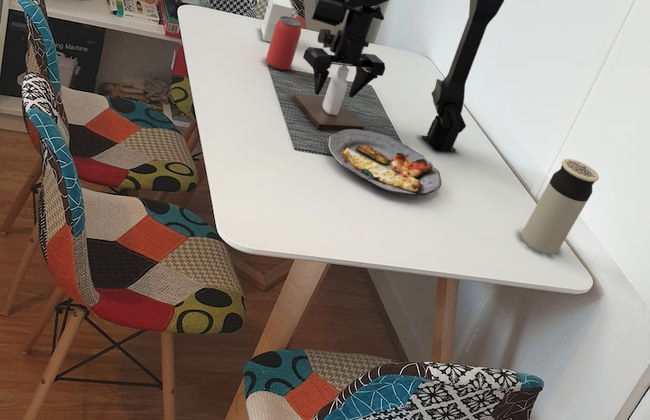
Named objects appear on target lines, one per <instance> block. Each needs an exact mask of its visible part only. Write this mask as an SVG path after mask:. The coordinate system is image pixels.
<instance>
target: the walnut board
mask: <svg viewBox="0 0 650 420" xmlns="http://www.w3.org/2000/svg"><path fill="white" fill-rule="evenodd" d="M324 98H325V95H311V94H302V93H301V94H299V93H293V96H292V99H293V101H294V102H295V103H296V104H297V105H298V107H299V108H300V109H301V110H302V111H303V113H304V114H305V115H306V116H307V118H309V119H310V121H311V122H312V123H313V125H314V126H315V127H316V128H317V129H318V130H335V131H336V130H337V131H343V129H344V130H348V129H351V130H352V129H355V130H356V129H358V130H363V131H364V128H365V126H364V124H362V122H360V120H359V119H358V118H357V117H356V115H354V114H353V113H352V111H351V110H349V108H348V107H347V106H346V105H345V104H344V103H343V102H342V104H341V107H340V110H339V113H338V115H337V116H335V115H330V114H328V113H327V112H325V110H324V109H323V106H322V105H323V101H324Z"/></svg>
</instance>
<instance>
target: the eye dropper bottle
mask: <svg viewBox="0 0 650 420" xmlns="http://www.w3.org/2000/svg"><path fill="white" fill-rule="evenodd" d="M337 68H338V69H337V72H336V74H333V75H332V76H331V77H330V80H329V84H328V87H327V89H326V91H325V92H326V93H325V95H324V96H325V98H324V101H323V105H322V106H323V109H324V110H325V112H327V113H328V114H330V115H335V116H337V115H338V113H339V110H340V107H341V104H342V103H343V101H344V98H345V95H346V92H347V90H348V81H347V78H348V75H349V73H350V70H349V69H350V68H348V66H347V65H339V67H337Z"/></svg>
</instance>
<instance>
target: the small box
mask: <svg viewBox="0 0 650 420" xmlns="http://www.w3.org/2000/svg"><path fill="white" fill-rule="evenodd" d="M293 10H294V9H293V6H292V2H291V0H268V3H267V6H266V10H265V13H264V18H263V21H262V26H261V29H260V31H261V35H262V40H263V41H265V42H269V43H271V40H272V36H273V32H274V29H275V25H276V23H277V22H278V20H279V19H280V17H281V16H287V17H291V16H292V12H293ZM291 18H292V17H291Z"/></svg>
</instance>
